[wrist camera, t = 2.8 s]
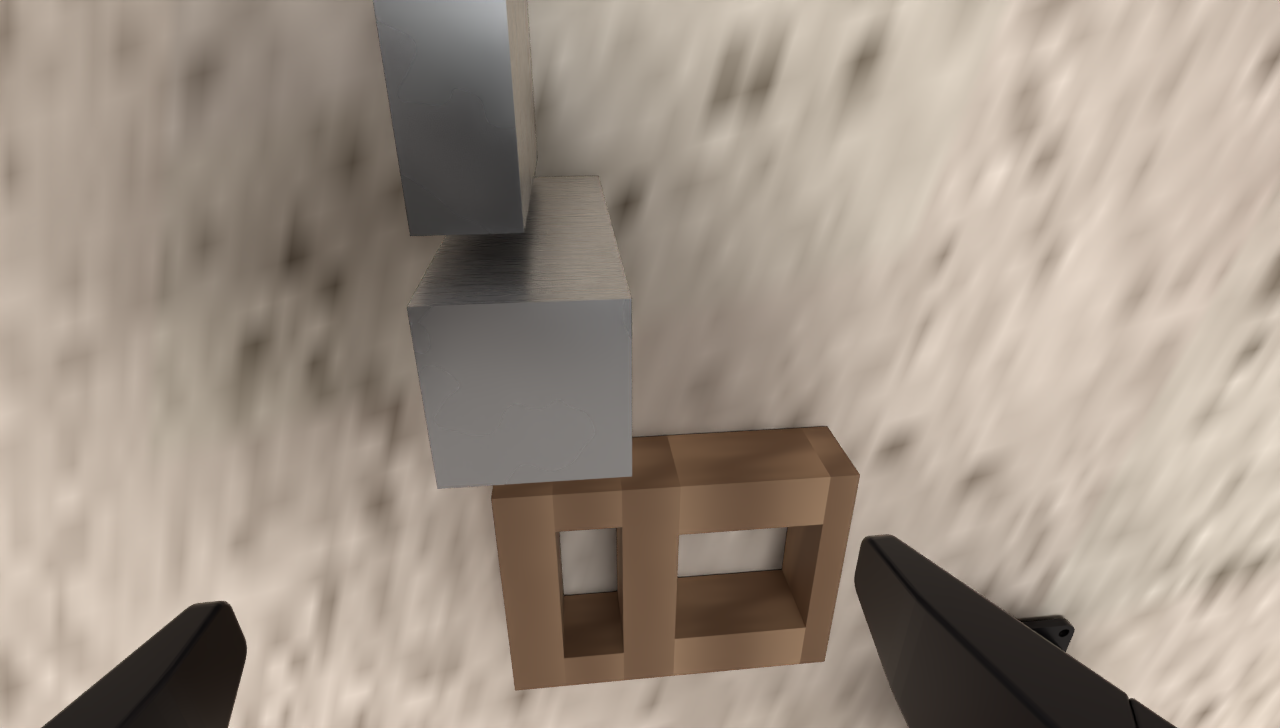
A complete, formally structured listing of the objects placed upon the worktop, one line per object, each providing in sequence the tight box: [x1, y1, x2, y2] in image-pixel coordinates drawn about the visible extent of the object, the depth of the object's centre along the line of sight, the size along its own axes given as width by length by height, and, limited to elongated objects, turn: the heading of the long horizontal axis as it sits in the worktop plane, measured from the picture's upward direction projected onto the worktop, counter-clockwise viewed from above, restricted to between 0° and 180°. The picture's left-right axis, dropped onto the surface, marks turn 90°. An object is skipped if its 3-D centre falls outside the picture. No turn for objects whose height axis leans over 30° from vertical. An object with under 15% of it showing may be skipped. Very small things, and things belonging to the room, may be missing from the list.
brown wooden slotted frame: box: [491, 426, 860, 690], centre depth 24 cm, size 12×9×3 cm
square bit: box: [407, 176, 632, 489], centre depth 16 cm, size 4×4×10 cm
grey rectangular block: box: [373, 0, 538, 236], centre depth 14 cm, size 2×5×8 cm, turn 0°
